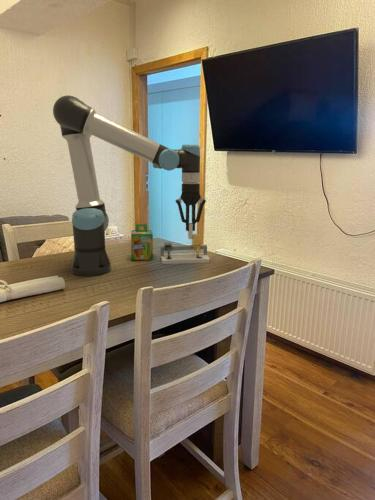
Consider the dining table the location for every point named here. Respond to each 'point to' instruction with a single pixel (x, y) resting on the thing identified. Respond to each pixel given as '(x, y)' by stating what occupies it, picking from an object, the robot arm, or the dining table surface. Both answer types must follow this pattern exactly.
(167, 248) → the fixed leg
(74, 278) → the dining table surface
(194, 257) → the hole plate
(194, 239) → the block
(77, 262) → the robot arm
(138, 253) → the chalk box
